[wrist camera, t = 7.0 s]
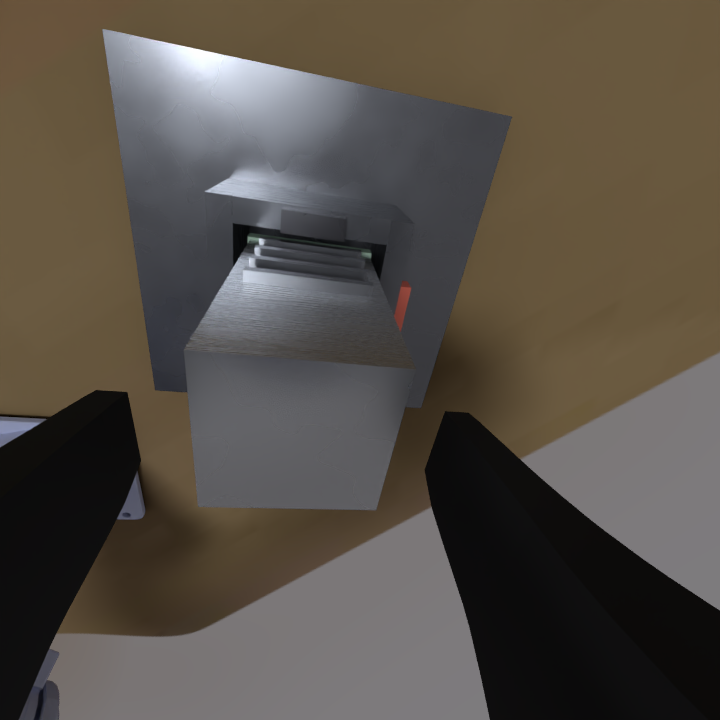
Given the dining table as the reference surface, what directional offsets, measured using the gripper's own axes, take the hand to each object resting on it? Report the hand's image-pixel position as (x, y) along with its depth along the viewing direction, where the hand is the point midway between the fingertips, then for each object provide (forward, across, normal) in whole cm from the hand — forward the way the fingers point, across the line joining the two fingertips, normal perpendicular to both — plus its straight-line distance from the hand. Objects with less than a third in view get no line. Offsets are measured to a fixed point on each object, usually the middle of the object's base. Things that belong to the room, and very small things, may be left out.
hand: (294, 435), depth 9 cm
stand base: (+10, 0, -1) cm, 10 cm away
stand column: (+7, 0, -1) cm, 7 cm away
